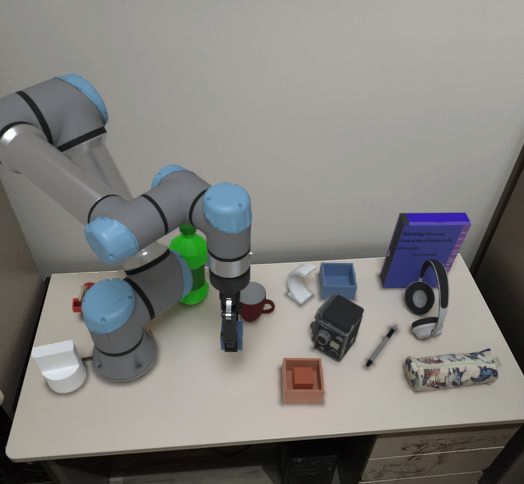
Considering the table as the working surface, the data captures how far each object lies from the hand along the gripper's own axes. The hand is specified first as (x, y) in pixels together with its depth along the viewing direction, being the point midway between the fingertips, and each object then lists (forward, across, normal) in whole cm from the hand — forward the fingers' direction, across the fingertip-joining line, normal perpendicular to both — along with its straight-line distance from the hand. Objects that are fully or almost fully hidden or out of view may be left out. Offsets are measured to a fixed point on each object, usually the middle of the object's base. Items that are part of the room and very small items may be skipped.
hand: (231, 340), depth 105 cm
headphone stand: (+19, +30, -17) cm, 39 cm away
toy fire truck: (+18, +22, +40) cm, 49 cm away
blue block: (0, 0, 0) cm, 0 cm away
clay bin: (+18, 0, -17) cm, 25 cm away
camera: (+19, +13, -24) cm, 33 cm away
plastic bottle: (+18, +27, +13) cm, 35 cm away
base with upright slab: (+18, +1, +40) cm, 44 cm away
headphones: (+19, +22, -50) cm, 57 cm away
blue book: (+19, +36, -50) cm, 65 cm away
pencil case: (+19, +3, -52) cm, 56 cm away
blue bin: (+18, +33, -28) cm, 47 cm away
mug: (+19, +21, -5) cm, 29 cm away
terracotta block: (+18, 0, -17) cm, 25 cm away
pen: (+19, +13, -38) cm, 44 cm away
